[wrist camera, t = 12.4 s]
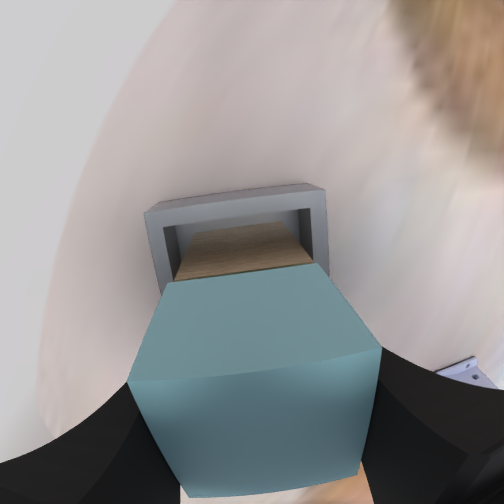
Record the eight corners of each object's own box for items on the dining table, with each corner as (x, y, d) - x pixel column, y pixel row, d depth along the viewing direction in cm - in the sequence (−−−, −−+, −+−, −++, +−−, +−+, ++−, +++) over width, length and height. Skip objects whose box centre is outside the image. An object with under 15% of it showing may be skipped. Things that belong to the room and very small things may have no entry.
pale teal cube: (317, 262, 10) (382, 347, 5) (319, 377, 12) (356, 474, 7) (167, 282, 10) (126, 381, 5) (197, 393, 12) (189, 497, 7)
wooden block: (281, 220, 18) (313, 261, 11) (288, 299, 19) (316, 369, 13) (194, 232, 18) (174, 280, 11) (208, 310, 19) (201, 385, 12)
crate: (307, 183, 18) (324, 189, 14) (314, 314, 20) (329, 343, 17) (159, 202, 17) (143, 213, 14) (186, 331, 20) (179, 363, 17)
